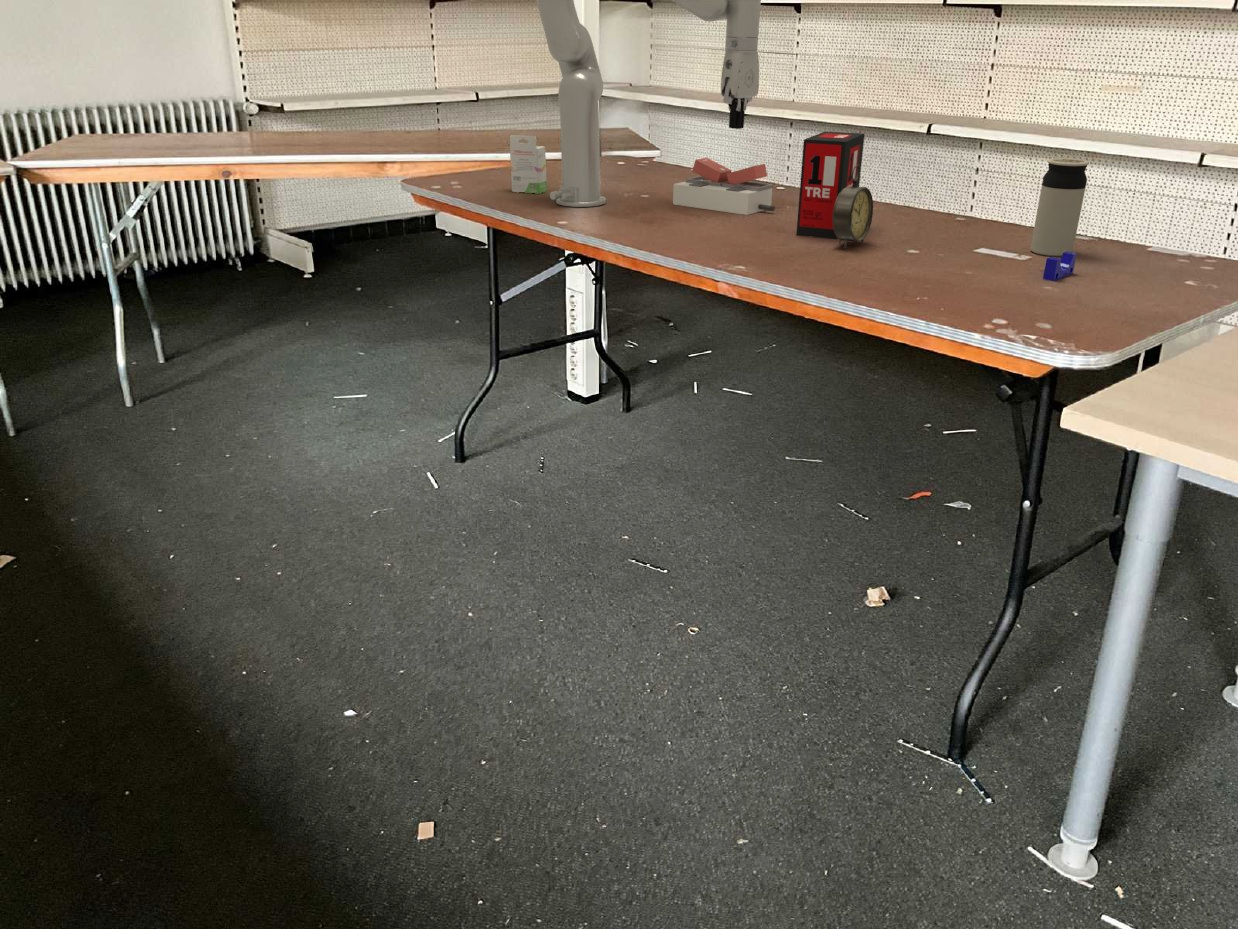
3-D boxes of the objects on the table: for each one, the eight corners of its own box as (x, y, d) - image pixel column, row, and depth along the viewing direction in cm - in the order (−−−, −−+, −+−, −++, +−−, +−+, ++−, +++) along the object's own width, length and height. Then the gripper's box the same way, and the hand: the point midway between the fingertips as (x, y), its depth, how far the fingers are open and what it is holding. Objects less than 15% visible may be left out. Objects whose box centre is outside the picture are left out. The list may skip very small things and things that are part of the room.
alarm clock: (848, 251, 198) (857, 169, 191) (824, 248, 201) (832, 166, 194) (871, 242, 206) (880, 162, 199) (847, 239, 209) (855, 160, 202)
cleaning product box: (836, 239, 209) (845, 141, 200) (796, 235, 212) (803, 139, 204) (855, 225, 222) (864, 133, 214) (817, 221, 226) (824, 131, 217)
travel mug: (1076, 257, 193) (1095, 164, 186) (1034, 256, 194) (1051, 162, 187) (1066, 249, 200) (1084, 158, 193) (1026, 247, 202) (1042, 157, 194)
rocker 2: (756, 178, 234) (753, 165, 233) (729, 185, 239) (726, 173, 238) (767, 176, 237) (764, 163, 236) (740, 183, 243) (737, 170, 242)
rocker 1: (716, 184, 241) (720, 172, 239) (692, 170, 244) (695, 159, 243) (727, 181, 245) (731, 170, 243) (703, 168, 248) (707, 157, 246)
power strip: (761, 217, 231) (763, 191, 228) (673, 204, 245) (673, 180, 243) (785, 210, 238) (786, 185, 236) (697, 198, 253) (698, 175, 251)
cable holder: (1054, 271, 184) (1058, 250, 182) (1072, 274, 182) (1077, 253, 180) (1034, 278, 179) (1038, 256, 178) (1053, 282, 177) (1057, 260, 175)
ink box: (547, 191, 262) (546, 134, 256) (538, 194, 258) (537, 136, 252) (520, 189, 266) (517, 132, 260) (510, 192, 262) (508, 134, 255)
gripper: (737, 46, 220) (731, 131, 228) (772, 45, 231) (765, 127, 238) (709, 45, 224) (705, 129, 232) (745, 44, 235) (740, 124, 243)
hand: (736, 127), depth 235 cm, fingers closed
